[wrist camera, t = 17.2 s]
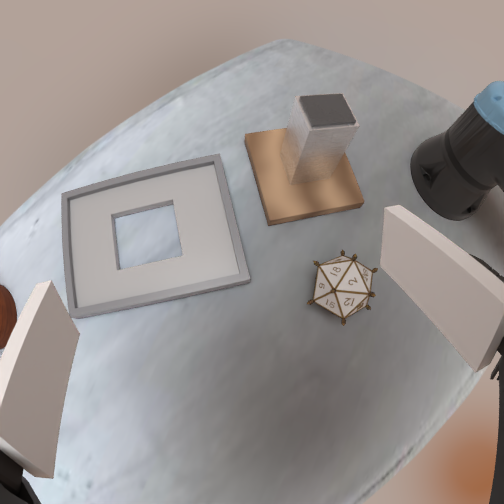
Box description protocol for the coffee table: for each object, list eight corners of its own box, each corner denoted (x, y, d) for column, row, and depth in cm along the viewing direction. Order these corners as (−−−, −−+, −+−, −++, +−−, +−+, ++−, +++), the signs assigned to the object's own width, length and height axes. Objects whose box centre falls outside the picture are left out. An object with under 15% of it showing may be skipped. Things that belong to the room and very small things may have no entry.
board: (328, 130, 49) (332, 123, 47) (359, 207, 46) (364, 202, 44) (244, 141, 47) (245, 134, 45) (268, 225, 44) (269, 220, 42)
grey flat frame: (220, 162, 46) (219, 153, 44) (249, 282, 42) (250, 279, 39) (68, 200, 43) (61, 193, 41) (77, 318, 39) (69, 317, 36)
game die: (321, 282, 46) (340, 223, 40) (372, 311, 42) (399, 253, 36) (287, 316, 40) (304, 253, 34) (344, 351, 36) (375, 292, 30)
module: (318, 149, 46) (343, 91, 33) (329, 178, 44) (360, 124, 32) (279, 154, 45) (295, 94, 32) (289, 185, 44) (310, 128, 31)
